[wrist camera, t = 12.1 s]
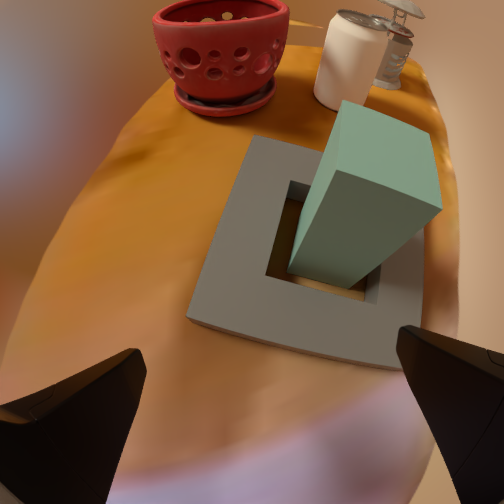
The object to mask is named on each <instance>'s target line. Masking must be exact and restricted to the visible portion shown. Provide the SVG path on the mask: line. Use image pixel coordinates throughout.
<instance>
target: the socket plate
mask: <svg viewBox="0 0 504 504" xmlns="http://www.w3.org/2000/svg"><path fill="white" fill-rule="evenodd" d="M322 156H323V152H320V151H316V150H313V149H309V148H306V147H302V146H298V145H295V144H291V143H287V142H283V141H279V140H275V139H271V138H267V137H262V136H258V135H254V136H253V138H252V141H251V143H250V146H249V148H248V151H247V153H246V155H245V158H244V160H243V163H242V165H241V168H240V170H239V173H238V175H237V178H236V180H235V183H234V185H233V188H232V190H231V193H230V195H229V198H228V201H227V203H226V206H225V208H224V211H223V214H222V216H221V219H220V221H219V224H218V227H217V229H216V232H215V235H214V237H213V240H212V243H211V246H210V248H209V251H208V254H207V257H206V259H205V262H204V265H203V268H202V271H201V273H200V276H199V279H198V282H197V285H196V288H195V291H194V293H193V296H192V299H191V302H190V305H189V308H188V311H187V314H186V317H187V318H188V319H189V320H190V321H191V322H192V323H195V324H199V325H202V326H205V327H208V328H211V329H214V330H218V331H221V332H224V333H228V334H231V335H235V336H238V337H242V338H245V339H249V340H252V341H256V342H260V343H263V344H267V345H271V346H275V347H279V348H283V349H287V350H291V351H295V352H299V353H304V354H308V355H313V356H317V357H322V358H327V359H331V360H336V361H341V362H346V363H352V364H357V365H363V366H368V367H374V368H381V369H387V370H394V371H403V368H402V366H401V363H400V361H399V358H398V356H397V353H396V343H397V337H398V331H399V328H400V327H401V326H406V325H413V326H416V327H419V328H420V325H421V315H422V303H423V287H424V227H423V228H422V229H421V230H420V231H418V232H417V233H416V234H415V235H414V236H413V237H412V238H410V239H409V240H408V241H407V242H406V243H405V244H404V245H402V246H401V247H400V248H399V249H398V250H396V251H395V252H394V253H393V254H392V255H390V256H389V257H388V258H387V259H386V260H384V261H383V262H382V263H381V264H380V265H378V266H377V267H376V268H375V269H373V270H372V271H371V272H370V273H368V276H367V284H366V292H365V299H364V302H362V301H359V300H355V299H351V298H347V297H343V296H339V295H336V294H332V293H328V292H324V291H320V290H317V289H313V288H309V287H305V286H302V285H298V284H294V283H291V282H287V281H283V280H280V279H276V278H272V277H269V276H265V273H266V269H267V266H268V262H269V259H270V255H271V251H272V248H273V244H274V240H275V236H276V233H277V229H278V225H279V221H280V218H281V214H282V210H283V206H284V203H285V199H286V198H289V199H293V200H296V201H300V202H303V203H305V201H306V198H307V196H308V193H309V190H310V188H311V185H312V183H313V180H314V177H315V175H316V172H317V169H318V167H319V164H320V161H321V159H322Z"/></svg>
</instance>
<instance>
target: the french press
mask: <svg viewBox="0 0 504 504" xmlns="http://www.w3.org/2000/svg"><path fill="white" fill-rule="evenodd" d="M378 1H380V2H382V3H384V4H387V5H388V6H390V7H392V8H394V16H393V19H392V20H390V19H388V18H386V17H385V18H383V17H382V16H379V15H374V14H372V15H368V16H371V17H373V18H375V19H377V20H379V21H381V22H382V23H384V24H385V25H386V26H387V27H388V28H389V30H388V31H387V36H389V34H390V32H392V33H394V37H393V39H392V40H390V39H388V44H387V47H386V50H385V53H384V56H383V58H382V61H381V63H380V66H379V69H378V71H377V74H376V76H375V79H374V81H373V84H372V85H375V86H377V87H380V88H384V89H388V90H397V89H399V88H401V82H400V79H399V78H398V77H399V75H400V73H401V70H402V69H403V66H404V64H405V62H406V59H407V57H408V55H409V52H410V51H411V48H412V46H413V44H412V42H411V41H410V40H409V39H408V38H412V37H414V35H413V33H412V32H411V31H410V30H409V29H406V28H405V27H403V26H404V23H405V20H406V15H407V14H409V15H411V16H413V17H416V18H419V19H424V18H425V16H424V14H423V13H422V11H421V10H420V9H419V8H418V7H417V6H416V5H415V4H414V3H413V2H411V1H410V0H378ZM397 10H399V11H401V12H404V15H403V16H399V15H397ZM396 16H398V17H401V18H404V22H403V24H402V26H401V25H400V24H398V23H396V22H394V21H395V18H396ZM406 54H408V55H407V56H406V57H405V55H406ZM399 58H403V59H399ZM404 60H405V62H404V63H403V61H404ZM397 64H400V65H399V66H396V65H397ZM400 67H402V68H401V69H400Z"/></svg>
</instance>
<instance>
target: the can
mask: <svg viewBox="0 0 504 504" xmlns="http://www.w3.org/2000/svg"><path fill="white" fill-rule="evenodd" d="M388 30H389V28H388V27H387V26H386V25H385V24H384V23H382V22H381V21H379V20H377V19H375V18H373V17H371V16H368V15H366V14H363V13H360V12H356V11H352V10H345V9H339V10H337V14H336V15H335V17H333V19H332V20H331V21H330V24H329V28H328V32H327V36H326V40H325V44H324V48H323V52H322V56H321V61H320V65H319V69H318V73H317V77H316V81H315V85H314V95H315V97H316V98H317V100H318V101H319V102H320V103H321V104H322V105H324V106H325V107H327V108H329V109H331V110H333V111H336V112H339V109H340V106H341V103H342V101H343V100H346V101H349V102H352V103H355V104H358V105H361V106H363V105H364V103H365V100H366V98H367V96H368V93H369V91H370V88H371V86H372V84H373V81H374V79H375V76H376V74H377V71H378V69H379V66H380V63H381V61H382V58H383V56H384V53H385V50H386V47H387V44H388V36H387V31H388Z"/></svg>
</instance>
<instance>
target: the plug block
mask: <svg viewBox="0 0 504 504" xmlns="http://www.w3.org/2000/svg"><path fill="white" fill-rule="evenodd" d="M442 209H443V208H442V200H441V193H440V186H439V180H438V174H437V168H436V163H435V158H434V153H433V149H432V144H431V140H430V136H429V134H428V133H426V132H424V131H422V130H420V129H418V128H416V127H413V126H411V125H409V124H407V123H404V122H402V121H400V120H397V119H395V118H393V117H390V116H388V115H385V114H383V113H380V112H377V111H375V110H372V109H369V108H366V107H364V106H361V105H358V104H355V103H352V102H349V101H346V100H343V101H342V103H341V106H340V109H339V112H338V115H337V118H336V120H335V123H334V126H333V129H332V131H331V134H330V137H329V140H328V142H327V145H326V148H325V151H324V153H323V156H322V159H321V161H320V164H319V167H318V169H317V172H316V175H315V177H314V180H313V183H312V185H311V188H310V190H309V193H308V196H307V198H306V201H305V203H304V206H303V209H302V211H301V214H300V216H299V220H298V225H297V229H296V234H295V238H294V242H293V247H292V251H291V255H290V259H289V264H288V268H287V272H286V273H290V274H293V275H297V276H301V277H305V278H308V279H312V280H316V281H320V282H323V283H327V284H331V285H335V286H338V287H342V288H346V289H349V288H350V287H352V286H353V285H354V284H355V283H357V282H358V281H359V280H361V279H362V278H363V277H364V276H366V275H367V274H368V273H370V272H371V271H372V270H373V269H375V268H376V267H377V266H378V265H380V264H381V263H382V262H383V261H384V260H386V259H387V258H388V257H389V256H390V255H392V254H393V253H394V252H395V251H396V250H398V249H399V248H400V247H401V246H402V245H404V244H405V243H406V242H407V241H408V240H409V239H410V238H412V237H413V236H414V235H415V234H416V233H417V232H418V231H420V230H421V229H422V228H423V227H424V226H425V225H426V224H427V223H428V222H430V221H431V220H432V219H433V218H434V217H435V216H436V215H437V214H438V213H439V212H440V211H441V210H442Z"/></svg>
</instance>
